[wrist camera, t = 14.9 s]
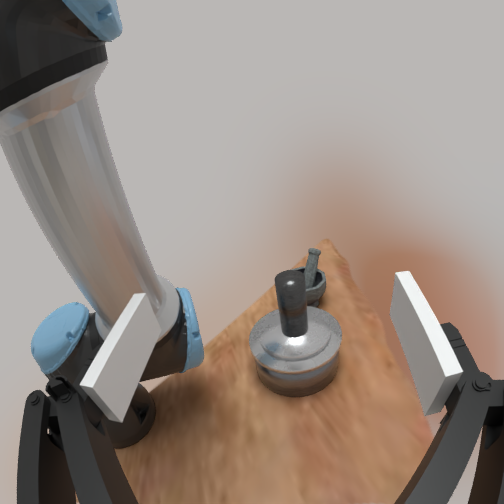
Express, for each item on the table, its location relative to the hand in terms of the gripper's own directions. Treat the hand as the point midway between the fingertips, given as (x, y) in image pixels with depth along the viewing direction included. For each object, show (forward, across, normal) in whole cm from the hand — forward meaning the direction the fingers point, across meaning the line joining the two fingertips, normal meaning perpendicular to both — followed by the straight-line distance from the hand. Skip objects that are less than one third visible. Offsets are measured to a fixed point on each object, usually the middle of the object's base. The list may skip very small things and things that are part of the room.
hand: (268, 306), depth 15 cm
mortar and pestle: (+43, +3, -34) cm, 55 cm away
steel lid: (+24, 0, -26) cm, 36 cm away
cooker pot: (+24, 0, -34) cm, 42 cm away
